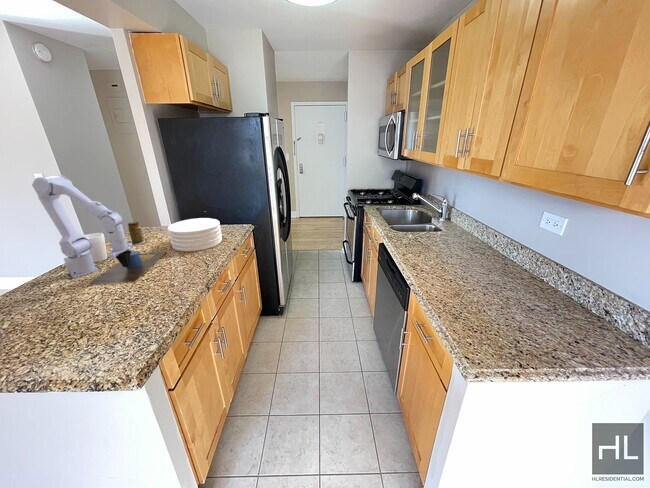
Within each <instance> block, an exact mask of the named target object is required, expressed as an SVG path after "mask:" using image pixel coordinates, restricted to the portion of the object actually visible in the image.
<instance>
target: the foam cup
mask: <svg viewBox="0 0 650 488" xmlns="http://www.w3.org/2000/svg"><path fill="white" fill-rule="evenodd" d="M84 235H85V236H86V237H87V238H88V239H89V240H90V241H91V243H92V248H91V251H90V253H91V256H92V259H93V261H94V263H99V262H103V261H105V260H107V259H108V254H107V253H108V252H107V246H106V241H105V240H106V237H105V234H104V233H102V232H94V233H88V234H84Z"/></svg>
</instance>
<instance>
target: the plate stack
mask: <svg viewBox="0 0 650 488" xmlns="http://www.w3.org/2000/svg"><path fill="white" fill-rule="evenodd" d="M167 231H168V236H169V240H170V244H171V245H170V246H171V248H172V249H173V250H174V251H179V252H197V251H203V250H206V249H210V248H213V247H215V246H217V245H219V244H221V243H222V241H223V237H222V236H223V235H222V229H221V223H220V220H218V219H216V218H210V217H198V218H189V219H184V220H179V221H177V222H174V223H171V224H169V225H168V226H167Z"/></svg>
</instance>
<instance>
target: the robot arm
mask: <svg viewBox="0 0 650 488" xmlns="http://www.w3.org/2000/svg"><path fill="white" fill-rule="evenodd" d="M31 186H32V188H33V189H34V191H35V193H36V194H37V198H38V200H39V201H40V203H41V205H42V207H43V208H44V210H45V211H46V213H47V214H48V216H49V218H50V219H51V221H52V223H53V224H54V226H55V227H56V229H57V231H58V232H59V235H60V236H61V239H60V240H59V243H58V244H59V246H60V251H61V253H62V254H63V255H64V256H66V257H64V258H63V262H64V264H65V266H66V269H67V273H68V274H69V276H71V278H73V279H74V278H78V277H82V276H85V275H88V274H92V273H95V272H99V271H100V269H99V268H98V267H97V266H96V264H95V262H94V261H93V259H92V256H91V253H90V251H91V248H92V243H91V241H90V240H89V239H88V238H87V237H86V236H85V235H86V234H84V233H81V232H79V231H78V230H77V228H76V226H75V225H74V223H73V221H72V219H71V218H70V216H69V215H68V213H67V211H66V209H65V208H64V206H63V205H62V203H61V201H60V197H61V196H62V195H64V196H65V195H66V196H67V197H68V198H70V199H72V200H73V201H75V202H77V203H79V204H80V205H82V206H84V210H85V211H86V212H87V213H89V214H90V215H91V216H93V217H94V218H96V219H97V220H99V221H100V222H99V223H100V225H101V226H102V227H103V228H104V230H105V231H106V233H107V236H108V238H109V242H110V245H111V247H112V250H111V251H110V253H108V258H109V260H112V259H113V260H115V259H116V260H117V261H118V263H121V264H122V266H123V267H128V266H129V265H130V254H131V251H132V248H133V247H134V245H132V243H131V242H127V237H126V234H125V231H124V227H123V223H124V217H123V215H122V214H121V213H120V212H117V211H113V210H111V209H109V208H108V207H106V206H105V205H104V204H103V203H101V201H98V200H91V199H90V198H89V197H88V196H87V195H85V194H84V193H83V192H82V191H81V190H79V189H78V188H77V187H75V186H74V185H73V182H72V181H71V180H70V179H68V177H66V176H65V175H63V174H56V175H51V176H43V177H42V176H39V177H36V178H35V179H34V180H33V182H32V184H31Z"/></svg>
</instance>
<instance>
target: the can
mask: <svg viewBox="0 0 650 488" xmlns="http://www.w3.org/2000/svg"><path fill="white" fill-rule="evenodd" d="M140 254H141V253H140V251H138V250H131V254H130V265H129V266H128V267H126V268H136V267H139V266H141V265H142V261H141V257H140Z"/></svg>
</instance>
